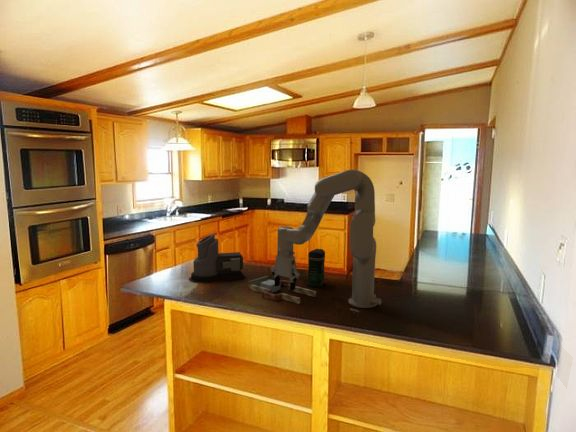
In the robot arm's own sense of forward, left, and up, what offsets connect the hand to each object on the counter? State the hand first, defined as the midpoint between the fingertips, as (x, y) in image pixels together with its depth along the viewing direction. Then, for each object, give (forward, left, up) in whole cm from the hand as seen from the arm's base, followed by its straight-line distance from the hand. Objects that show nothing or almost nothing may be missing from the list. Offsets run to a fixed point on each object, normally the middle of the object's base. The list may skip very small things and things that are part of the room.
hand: (284, 287), depth 184 cm
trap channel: (+1, 0, -3) cm, 3 cm away
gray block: (+9, 0, -3) cm, 10 cm away
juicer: (+45, +4, -3) cm, 45 cm away
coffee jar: (-3, -22, -3) cm, 22 cm away
